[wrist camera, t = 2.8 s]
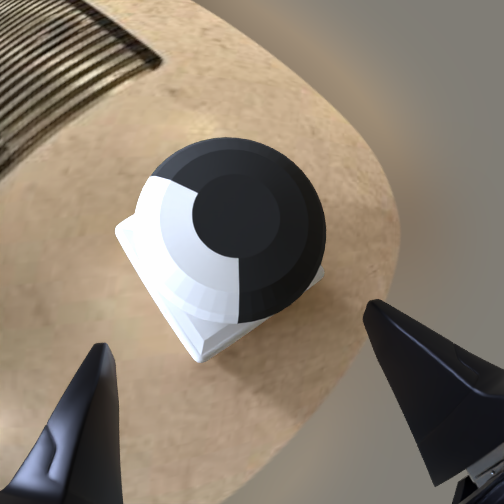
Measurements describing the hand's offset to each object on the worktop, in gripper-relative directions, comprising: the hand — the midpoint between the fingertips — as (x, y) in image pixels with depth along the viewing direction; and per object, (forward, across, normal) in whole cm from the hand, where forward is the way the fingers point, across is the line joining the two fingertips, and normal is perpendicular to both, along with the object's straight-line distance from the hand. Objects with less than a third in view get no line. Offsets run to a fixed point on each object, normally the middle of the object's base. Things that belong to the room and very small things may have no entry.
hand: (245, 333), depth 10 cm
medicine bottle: (+10, 0, +5) cm, 11 cm away
